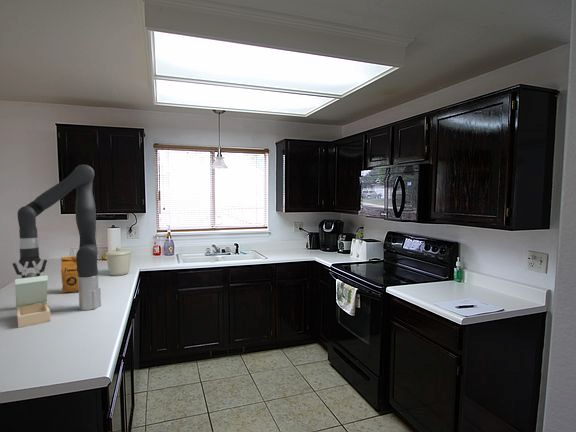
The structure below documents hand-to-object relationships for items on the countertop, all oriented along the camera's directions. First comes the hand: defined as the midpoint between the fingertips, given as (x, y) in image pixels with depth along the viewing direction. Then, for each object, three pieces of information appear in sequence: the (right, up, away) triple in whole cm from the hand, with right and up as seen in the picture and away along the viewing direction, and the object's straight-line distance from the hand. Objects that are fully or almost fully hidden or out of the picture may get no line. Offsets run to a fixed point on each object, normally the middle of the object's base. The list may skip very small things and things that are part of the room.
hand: (31, 281), depth 169 cm
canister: (-2, -12, +92) cm, 93 cm away
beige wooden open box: (+3, -18, -2) cm, 18 cm away
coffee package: (-8, -15, +46) cm, 49 cm away
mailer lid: (+2, -6, -2) cm, 7 cm away
